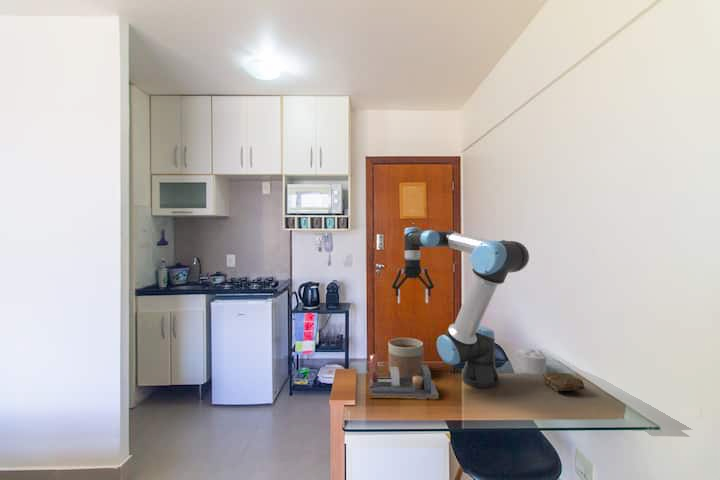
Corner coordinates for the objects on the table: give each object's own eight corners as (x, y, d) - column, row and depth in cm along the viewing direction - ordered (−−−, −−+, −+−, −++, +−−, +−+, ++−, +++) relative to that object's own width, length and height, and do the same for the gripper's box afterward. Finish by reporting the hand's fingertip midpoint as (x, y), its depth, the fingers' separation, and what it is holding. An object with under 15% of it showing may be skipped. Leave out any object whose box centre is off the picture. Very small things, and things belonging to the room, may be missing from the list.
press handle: (398, 381, 137) (397, 352, 137) (399, 390, 129) (399, 359, 129) (370, 381, 138) (369, 352, 138) (369, 389, 129) (369, 359, 129)
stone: (566, 383, 140) (564, 368, 141) (587, 395, 126) (585, 379, 127) (542, 384, 141) (540, 370, 141) (560, 396, 127) (558, 380, 127)
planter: (384, 376, 148) (383, 345, 148) (394, 364, 163) (394, 336, 163) (419, 381, 142) (418, 349, 142) (426, 368, 157) (426, 339, 157)
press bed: (432, 385, 138) (432, 363, 139) (438, 399, 125) (438, 375, 126) (370, 384, 140) (370, 362, 140) (370, 398, 127) (369, 374, 127)
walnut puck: (422, 384, 134) (422, 375, 134) (423, 388, 130) (423, 379, 130) (412, 384, 134) (412, 375, 135) (413, 388, 130) (413, 379, 131)
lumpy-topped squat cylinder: (531, 363, 163) (531, 345, 163) (553, 373, 150) (552, 354, 150) (513, 365, 160) (513, 347, 160) (533, 375, 148) (533, 356, 148)
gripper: (436, 258, 165) (437, 301, 164) (386, 259, 165) (386, 301, 165) (439, 259, 157) (440, 303, 157) (387, 259, 158) (387, 304, 158)
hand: (413, 302), depth 161 cm, fingers open, 13 cm apart
